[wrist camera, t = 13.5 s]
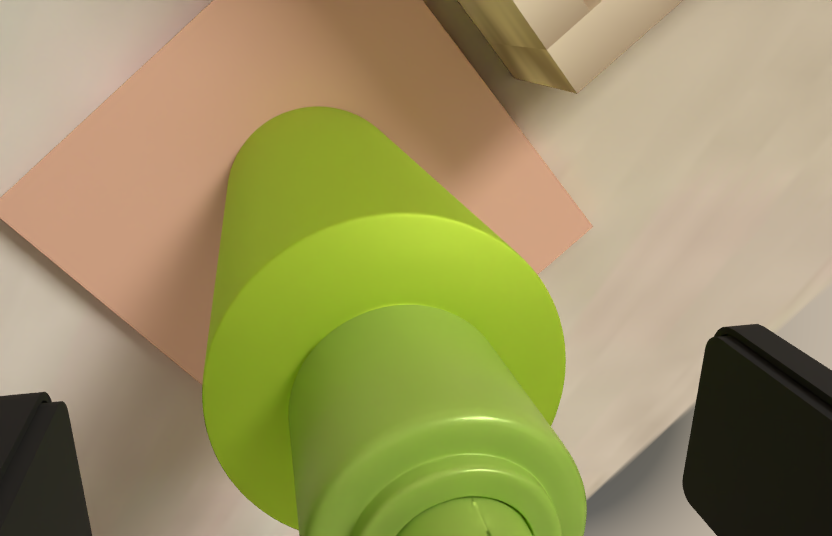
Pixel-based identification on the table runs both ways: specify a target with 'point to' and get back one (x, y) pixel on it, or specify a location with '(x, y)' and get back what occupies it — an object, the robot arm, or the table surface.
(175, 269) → the plate
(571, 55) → the open box
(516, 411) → the soap dispenser
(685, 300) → the table surface
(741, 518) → the robot arm
